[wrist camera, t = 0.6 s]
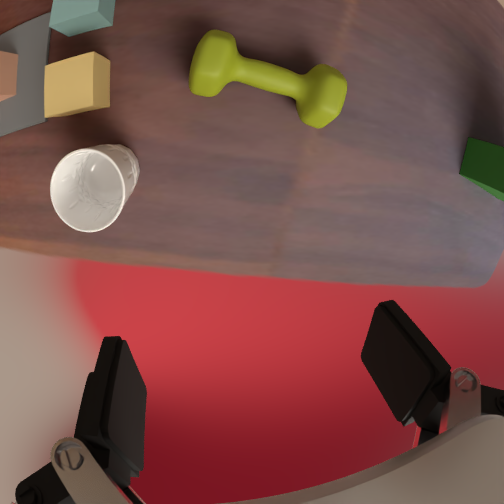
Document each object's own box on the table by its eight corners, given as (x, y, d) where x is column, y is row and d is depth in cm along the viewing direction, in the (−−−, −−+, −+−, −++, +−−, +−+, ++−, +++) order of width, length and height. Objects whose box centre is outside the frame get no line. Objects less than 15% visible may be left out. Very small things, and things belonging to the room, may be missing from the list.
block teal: (74, 0, 19) (56, -15, 13) (117, -12, 20) (104, -30, 14) (69, 37, 21) (48, 26, 16) (112, 25, 22) (97, 11, 17)
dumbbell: (184, 94, 29) (180, 88, 22) (203, 35, 25) (205, 15, 19) (314, 130, 33) (339, 135, 27) (331, 75, 30) (359, 70, 24)
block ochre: (67, 71, 24) (45, 65, 18) (110, 60, 25) (94, 51, 19) (67, 115, 26) (44, 117, 21) (110, 106, 27) (93, 105, 22)
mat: (-27, 52, 16) (-29, 52, 15) (53, 12, 18) (52, 11, 18) (-29, 148, 23) (-31, 149, 23) (47, 121, 26) (45, 121, 25)
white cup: (87, 201, 32) (54, 231, 23) (85, 140, 28) (48, 151, 20) (144, 201, 33) (126, 233, 25) (145, 138, 30) (125, 146, 21)
